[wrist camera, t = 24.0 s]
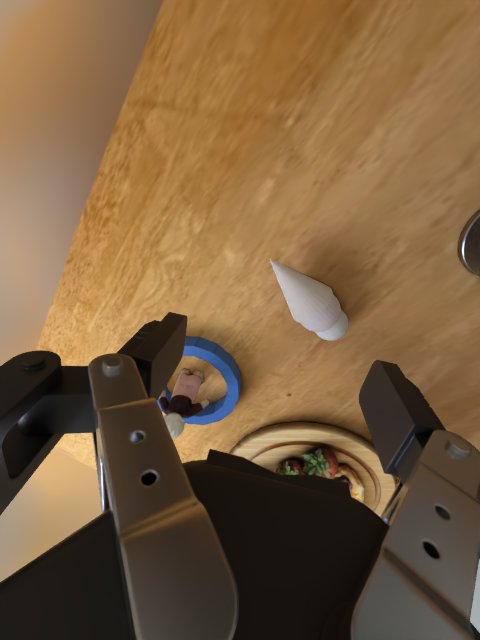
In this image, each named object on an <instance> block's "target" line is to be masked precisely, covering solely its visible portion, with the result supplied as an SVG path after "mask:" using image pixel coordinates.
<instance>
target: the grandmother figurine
mask: <svg viewBox="0 0 480 640" xmlns="http://www.w3.org/2000/svg"><path fill="white" fill-rule="evenodd" d="M203 382H204V379H203V374H202V372H201V371H194V372H193V375H190V372H189V370H187V369H182V370H181V371H180V373H179V375H178V380H177V382H176V385H175V387H174V390H173V393H172V396H171V401H170V403H169V401H168V400H167V398H166V395H165V394H166V392H165V390H163V392H162V394H161V395H160V397H159V403H160V406H161V408H162V410H163V411H164V413H165V414H167V415H166V416H163V417H164V420H165V422H166V425H167V427H168V430H169V432H170V435H171V437H172V439H175V438H176V437H178V436H179V435H180V434H181V433H182V432H183V430H184V424H185V423H184V422H185V421H184V420H183V419H182V418H189V417H192V416H194V415H196V414H198V413H199V412H201V411H203V409H204V408H205V406H207V405H208V404H209V401H208V400H207V399H204V400H203V401H202V402H200V403H196V404H193V402H194V400H195V398H196V395H197V393H198V391H199V388H200V385H201V384H202V383H203Z"/></svg>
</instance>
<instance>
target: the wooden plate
mask: <svg viewBox="0 0 480 640" xmlns="http://www.w3.org/2000/svg"><path fill="white" fill-rule="evenodd" d="M229 454H232V455H236V456H240V457H244V458H246V459H248V460H250V461H252V462H254V463H256V464H258V465H260V466H262V467H264V468H266V469H268V470H270V471H272V472H274V473H276V474H281V475H317V476H321V477H326V478H330V479H334V480H338V481H342V482H346V483H348V484H349V489H350V493H351V497H353V498H355V499H357V500H358V501H360V502H361V503H363V504H365V505H366V506H367V507H369V508H370V509H371V510H373V511H374V512H375V513H376V514H377V515H378V516H381V514H382V513H383V511H384V509H385V507H386V505H387V503H388V501H389V499H390V497H391V496H392V494H393V492H394V490H395V488H396V480H395V476H394V475H390V474H385V473H384V472H383V469H382V466H381V463H380V460H379V457H378V455H377V452H376V449H375V447H374V446H373V445H371V444H370V443H368V442H367V441H365V440H364V439H362V438H361V437H359V436H357V435H355V434H353V433H351V432H348V431H346V430H343V429H340V428H337V427H333V426H329V425H324V424H318V423H310V422H293V423H285V424H277V425H273V426H269V427H265V428H263V429H260V430H258V431H255V432H253V433H251V434H249V435H248V436H246V437H245V438H243V439H242V440H241V441H240V442H238V443H237V444H236V445H235V446H234V447H233V449H232V450H231V451H230V452H229Z"/></svg>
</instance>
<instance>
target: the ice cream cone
mask: <svg viewBox="0 0 480 640" xmlns="http://www.w3.org/2000/svg"><path fill="white" fill-rule="evenodd" d="M269 259H270V258H269ZM270 262H271V264H272V267H273V269H274V272H275V274H276V277H277V279H278V282H279V284H280V287H281V289H282V291H283V294H284V296H285V299H286V301H287V304H288V306H289V309H290V311H291V314H292V316H293V319H294V320H295V321H297V322H300V323H301V324H302V325H303V326H304V327H305V328H307V329H308V330H311V331H314V332H316V334H317V335H318V336H319V337H321V338H322V339H325V340H330V341H331V340H337V339H339V338H341V337H342V336H343V335H344V334H345V333H346V332H347V329H348V324H349V323H348V318H347V316H346V314H345V313H344V312H343V311H342V310H341V307H340V303H339V301H338V299H337V298H336V297H335V296H334V295H333V294H332V289H331V288H330V287H329V286H327V285H325V284H322V283H320V282H318V281H316V280H314V279H312V278H310V277H308V276H306V275H304V274H302V273H299V272H297V271H295V270H293V269H291V268H289V267H287V266H285V265H283V264H281V263H278V262H276V261H274V260H272V259H270Z"/></svg>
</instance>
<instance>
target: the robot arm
mask: <svg viewBox="0 0 480 640" xmlns="http://www.w3.org/2000/svg"><path fill="white" fill-rule="evenodd" d="M458 254H459V258H460V261H461V262H462V264H463V265H464V267H465V268H466V269H467V270H469V271H470V272H472V273H474V274H476V275H478V276H480V210H479V211H477V212H476V213H475V214H474V215H473V216H472V217H471V218H470V220H469V221H468V222H467V224H466V225H465V227H464V229H463V230H462V233H461V235H460V238H459V242H458ZM186 328H187V316H185V315H180V314H176V313H172V312H169V313H168V314H167V315H166V316H165V317H164V319H163V320H162V321H161V322H160V321H156V320H154V321H152V322H149V323H147V324H145V325H144V326H143V327H142V328H141V329H140V330H139V331H138V332H137V333H136V334H135V335H134V336H133V337H132V338H131V339H130V340H129V341H128V342H127V343H126V344H125V345H124V346H123V347H122V348H121V349H120V350H119V351H118V352H117V353H116V354H115V353H113V354H105V355H102V356H99V357H97V358H95V359H94V360H92V361H91V362H90V364H89V366H61V359H60V357H59V356H58V355H57V354H56V353H53V352H50V351H32V352H26V353H22V354H20V355H17V356H15V357H13V358H12V359H10V360H9V361H7V362H6V363H4V364H3V365H2V366H0V515H1V514H2V512H3V511H4V510H5V509H6V507H7V506H8V505H9V504H10V502H11V501H12V500H13V499H14V497H15V496H16V495H17V493H18V492H19V491H20V489H21V488H22V487H23V486H24V484H25V483H26V482H27V481H28V479H29V478H30V477H31V476H32V474H33V473H34V471H36V469H37V468H38V467H39V465H40V464H41V463H42V462H43V460H44V459H45V458H46V456H47V455H48V454H49V453H50V451H51V450H52V449H53V448H54V446H55V445H56V444H57V443H58V441H59V440H60V439H61V437H62V436H63V435H64V434H66V433H92V437H93V444H94V451H95V458H96V466H97V472H98V480H99V490H100V500H101V508H102V514H101V515H100V516H98V517H97V518H95V519H94V520H92V521H91V522H89V523H88V524H86V525H85V526H83V527H82V528H80V529H79V530H77V531H76V532H74V533H73V534H71V535H70V536H68V537H67V538H65V539H64V540H63V541H61V542H60V543H58V544H57V545H55V546H54V547H52V548H51V549H49V550H48V551H46V552H45V553H43V554H42V555H40V556H39V557H37V558H36V559H35V560H33V561H31V562H30V563H28V564H27V565H25V566H24V567H22V568H21V569H19V570H18V571H16V572H15V573H14V574H12V575H11V576H9V577H8V578H6V579H5V580H3V581H2V582H0V640H480V633H479V632H478V631H477V629H476V628H475V627H474V626H473V625H472V623H470V615H471V608H472V602H473V595H474V589H475V581H476V575H477V569H478V563H479V559H480V452H479V451H478V450H477V449H476V448H475V447H474V446H473V445H472V444H471V443H470V442H468V441H467V440H465V439H464V438H462V437H461V436H459V435H457V434H455V433H452V432H450V431H446V429H445V428H444V426H443V425H442V423H441V422H440V420H439V419H438V417H437V416H436V414H435V413H434V411H433V410H432V408H431V407H429V406H430V405H429V404H428V402H427V401H426V399H424V396H423V395H422V393H421V392H420V390H419V389H418V388H417V387H416V386H415V385H414V384H413V383H412V382H411V381H409V380H408V379H406V378H405V376H404V374H403V373H402V371H401V370H400V368H399V367H398V365H397V364H393V363H389V362H385V361H380V360H376V361H375V362H374V363H373V364H372V366H371V368H370V371H369V373H368V375H367V377H366V379H365V381H364V383H363V385H362V387H361V390H360V394H359V404H360V407H361V409H362V412H363V415H364V418H365V421H366V424H367V426H368V429H369V432H370V435H371V438H372V440H373V443H374V446H375V449H376V452H377V455H378V457H379V460H380V463H381V466H382V469H383V472H384V473H385V474H390V475H394V476H398V477H399V478H400V482H399V483H398V485H397V486H396V488H395V490H394V492H393V494H392V496H391V497H390V499H389V501H388V503H387V505H386V507H385V509H384V511H383V513H382V514H381V516H378V515H377V514H376V513H375V512H374V511H373V510H371V509H370V508H369V507H367V506H366V505H365V504H363V503H361V502H360V501H358V500H357V499H355V498H353V497H351V493H350V489H349V484H348V483H346V482H342V481H338V480H334V479H330V478H326V477H321V476H317V475H281V474H276V473H274V472H272V471H270V470H268V469H266V468H264V467H262V466H260V465H258V464H256V463H254V462H252V461H250V460H248V459H246V458H244V457H240V456H236V455H232V454H228V453H224V452H220V451H216V450H212V449H210V450H209V453H208V457H207V460H197V461H190V462H186V463H182V462H181V460H180V457H179V455H178V452H177V450H176V447H175V445H174V442H173V440H172V437H171V435H170V432H169V430H168V427H167V425H166V422H165V420H164V417H163V415H162V412H161V410H160V407H159V405H158V402H157V400H158V399H159V397H160V395H161V394H162V392H163V390H164V388H165V387H166V385H167V383H168V381H169V380H170V378H171V376H172V375H173V373H174V371H175V369H176V368H177V366H178V364H179V362H180V361H181V358H182V355H183V352H184V346H185V337H186Z"/></svg>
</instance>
